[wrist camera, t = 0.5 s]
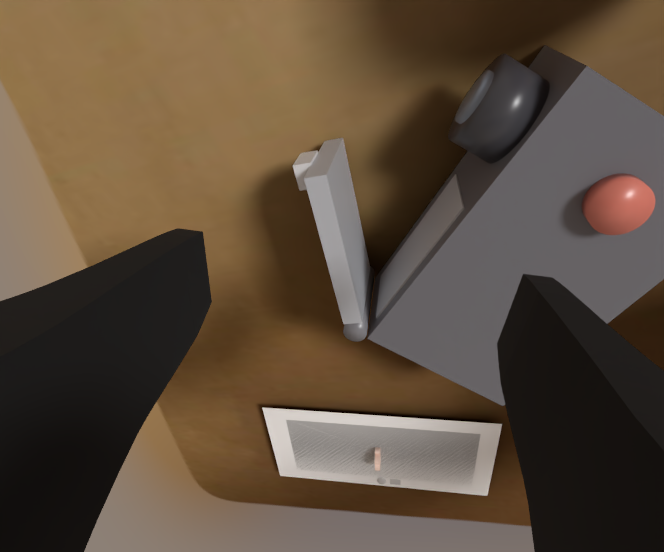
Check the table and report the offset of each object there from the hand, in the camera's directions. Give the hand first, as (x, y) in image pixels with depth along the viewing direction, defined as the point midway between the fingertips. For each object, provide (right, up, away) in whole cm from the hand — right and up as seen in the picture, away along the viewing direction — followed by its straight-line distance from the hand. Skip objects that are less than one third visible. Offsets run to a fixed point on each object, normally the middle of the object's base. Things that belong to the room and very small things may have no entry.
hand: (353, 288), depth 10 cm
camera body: (+7, +3, +9) cm, 12 cm away
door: (0, +3, +10) cm, 11 cm away
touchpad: (+3, -11, +20) cm, 23 cm away
